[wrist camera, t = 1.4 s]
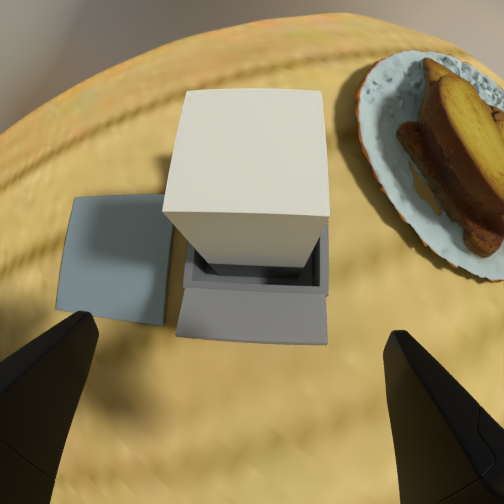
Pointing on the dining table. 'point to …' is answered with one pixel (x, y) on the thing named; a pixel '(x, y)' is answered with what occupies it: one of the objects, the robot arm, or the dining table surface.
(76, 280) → the rubber mat
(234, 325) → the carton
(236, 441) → the dining table surface
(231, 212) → the box
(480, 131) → the food on plate
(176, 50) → the dining table surface
